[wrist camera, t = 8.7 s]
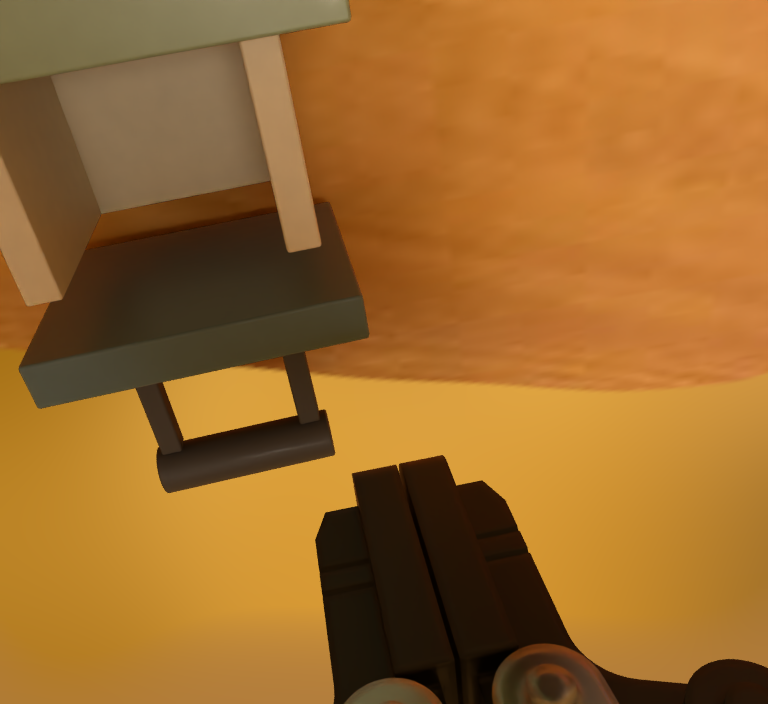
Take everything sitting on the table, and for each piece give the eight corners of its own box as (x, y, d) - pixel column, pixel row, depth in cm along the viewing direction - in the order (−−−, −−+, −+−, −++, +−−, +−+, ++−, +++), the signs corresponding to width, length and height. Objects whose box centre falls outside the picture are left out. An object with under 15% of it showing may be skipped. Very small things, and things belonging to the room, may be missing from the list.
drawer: (359, 360, 26) (396, 486, 20) (137, 409, 25) (109, 553, 19) (241, -265, 16) (246, -369, 11) (-117, -214, 16) (-318, -293, 10)
